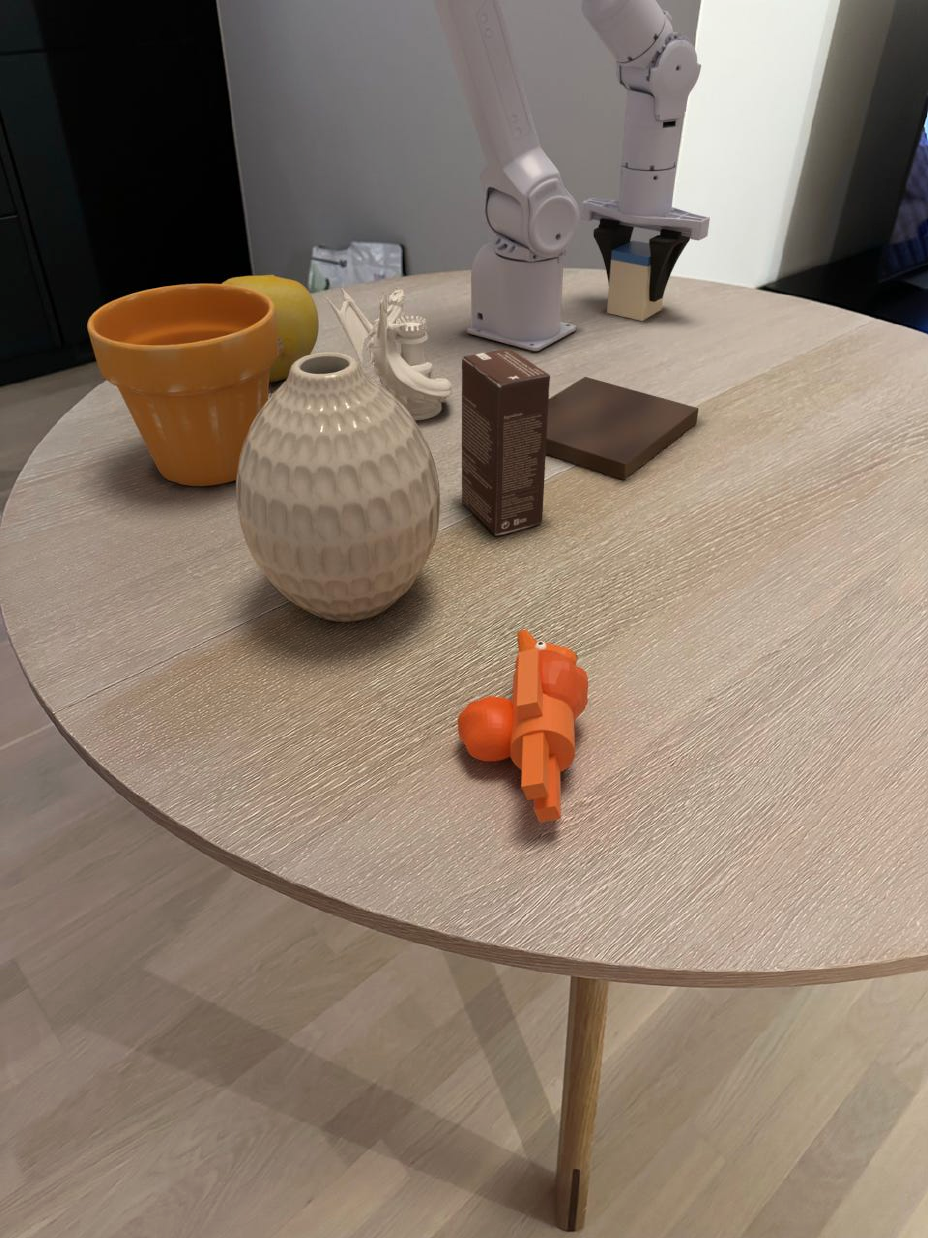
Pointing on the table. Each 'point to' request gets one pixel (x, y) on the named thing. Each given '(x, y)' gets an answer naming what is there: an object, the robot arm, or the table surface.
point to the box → (504, 439)
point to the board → (612, 426)
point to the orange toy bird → (532, 721)
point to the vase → (337, 491)
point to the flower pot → (190, 372)
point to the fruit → (286, 318)
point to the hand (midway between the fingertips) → (636, 294)
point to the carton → (631, 282)
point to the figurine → (396, 353)
